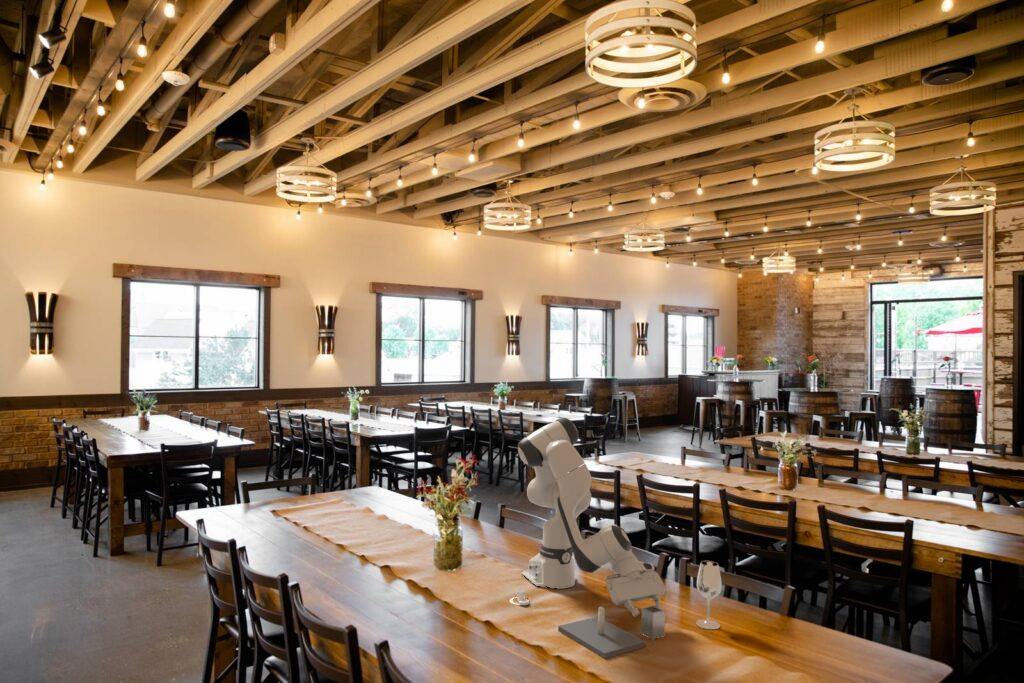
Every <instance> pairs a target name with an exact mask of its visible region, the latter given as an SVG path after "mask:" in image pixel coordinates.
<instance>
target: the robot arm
mask: <svg viewBox="0 0 1024 683" xmlns="http://www.w3.org/2000/svg"><path fill="white" fill-rule="evenodd" d="M578 441H579V433H578V429H577V427H576V425H575V423H574V422H572V421H571V420H570V419H569V418H567V417H561V418H558V419H555V421H553V422H550V423H547V424H546V425H544V426H541V427H540V428H538V429H536V430H535V431H533V432H531V434H529V435H528V436H525V437H523V438H522V439H521V440H520V441H519V442H518V443H517V452H518V455H519V458H520V460H521V461H522V462H523V463H524V464H525V465H526V466H528V467H532V468H533V469H534V473H535V477H534V478H533V479H531V481H529V483H528V485H527V488H526V495H527V498H528V500H529V502H530V503H532V504H534V505H536V506H538V507H542V508H543V507H544V508H548V509H555V510H556V515H555V516H554V517H551V518H549V519H547V520H546V521H545V522H544V524H543V527H542V543H540V544H538V545H539V546H538V548H539V551H538V552H539V553H537V554H536V555H535V556H533V557H532V558H530V559H529V561H528V566H527V569H526V570H523V571H522V572H521V575H522V574H523V575H525V576H526V577H527V578H528V579H529V580H530V581H532V582H533V583H534V584H535V585H538V586H547V587H550V588H549V589H554V588H557V589H559V590H561V589H563V590H564V589H568V588H571V587H573V586H575V584H576V581H577V575H575V564H576V567H578V568H579V570H580V571H583V572H585V573H590V574H593V573H595V571H597V570H599V569H600V568H601V567H602V566H604V565H607V564H608V563H610V565H611V569H612V571H613V574H612V575H608V576H607V577H606V578H605V585H606V586H607V589H608V592H609V595H610V598H611V602H612V603H613V604H614V605H615V606H621V605H624V607H625V608H626V609H627V610H628V611H630V613H631V614H632V616H633V617H638V616H639V615H641V614H640V611H639V609H638V608H637V607H635V606H634V605H633V603H636V602H642V601H647V600H651V599H652V601H653V602H654V603H655V605H654V606H656V607H658V608H660V609H662V610H663V607H662V605H661V597H662V596H664V594H666V586H665V583H664V582H663V580H662V578H661V577H660V575H659V573H658V572H656V571H655V566H654V564H653V563H650V562H645V561H642V560H638V558H637V556H636V555H635V554H634V553H633V550H632V542H631V540H630V538H629V537H628V534H627V532H626V531H625V528H622V527H620V526H618V525H617V524H615V523H614V524H613V523H611V524H606V525H604V526H603V527H602V528H601V529H600V530H599V531H598V532H596V533H595V534H593V535H591V536H589V537H587V538H584V539H583V537H582V534H581V532H580V528H579V525H578V522H577V518H578V516H580V514H582V513H583V512H584V511H586V510H587V509H588V508H589V506H590V505H591V502H592V493H591V490H590V489H591V486H592V483H593V482H592V481H593V478H592V476H591V475H592V474H591V473H590V470H589V468H588V466H587V465H586V463H585V461H584V459H583V457H582V456H581V455H580V453H579V451H578V450H577V449H576V447H575V446H574V445H575V444H576V443H577V442H578ZM530 581H529V582H530ZM535 585H534V586H535ZM547 587H546V588H547Z"/></svg>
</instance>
